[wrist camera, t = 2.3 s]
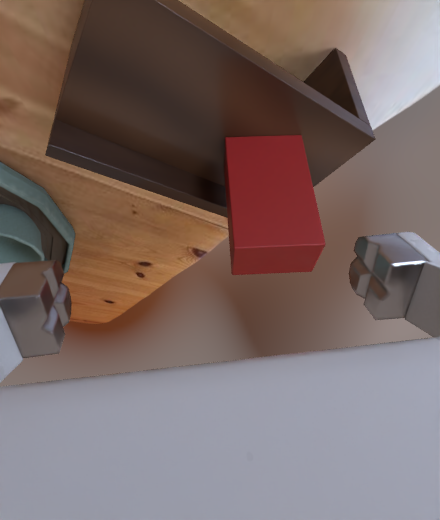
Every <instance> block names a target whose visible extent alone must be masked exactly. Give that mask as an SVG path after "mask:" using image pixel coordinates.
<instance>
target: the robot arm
mask: <svg viewBox="0 0 440 520" xmlns="http://www.w3.org/2000/svg"><path fill="white" fill-rule="evenodd" d="M354 252H355V253H356V255H357V257H356V258H355V259H354V260H353V261H352V263H351V264H350V270H349V279H350V284H351V286H352V289H353V290H354V291H355V293H356V294H357V295H359V296H361V297H363V298H365V302H364V305H365V307H366V308H367V309H368V311H369V312H370V314H371V315H372V316H373V318H374V319H375V320H383V319H395V318H405V320H407V321H409V322H410V323H412V324H414V325H415V326H417V327H418V328H420V329H421V330H423V331H424V332H426V333H428V334H429V335H431V336H432V337H433V338H424V339H415V340H406V341H399V342H389V343H380V344H371V345H363V346H354V347H346V348H336V349H328V350H319V351H310V352H302V353H293V354H284V355H276V356H266V357H257V358H248V359H240V360H232V361H222V362H213V363H204V364H195V365H187V366H179V367H170V368H161V369H151V370H143V371H134V372H125V373H116V374H108V375H99V376H90V377H81V378H72V379H63V380H55V381H46V382H37V383H28V384H19V385H11V386H3V387H0V520H440V253H439V252H438V251H437V250H435V249H434V248H433V247H432V246H431V245H429V244H428V243H427V242H425V241H424V240H423V239H422V238H420V237H419V236H418V235H417V234H415V233H414V232H401V233H392V234H382V235H372V236H363V237H359V238H358V239H357V241H356V243H355V247H354ZM63 276H64V272H63V269H62V266H61V263H60V262H59V261H58V260H46V261H29V262H17V263H16V262H11V263H0V382H1V381H2V380H3V379H4V378H5V377H6V376H7V375H8V374H9V373H10V372H11V371H12V370H13V369H14V368H16V367H17V365H19V364H20V363H21V362H22V361H23V358H29V357H36V356H44V355H52V354H59V352H60V349H61V346H62V342H63V339H64V336H65V333H64V329H63V327H64V326H65V325H66V324H67V323H68V322H69V320H70V316H71V296H70V292H69V289H68V287H67V286H65V285H64V284H63V283H62V282H61V281H62V279H63Z"/></svg>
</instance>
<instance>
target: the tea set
mask: <svg viewBox="0 0 440 520" xmlns="http://www.w3.org/2000/svg"><path fill="white" fill-rule="evenodd" d="M74 239H75V232H74V229H73V227H72V226H71V224H70V223H69V222H68V220H67V219H66V218H65V216H64V215H63V214H62V212H61V211H60V210H59V208H58V207H57V205H56V204H55V203H54V201H53V200H52V199H51V197H50V196H49V195H48V193H47V192H46V191H45V189H44V188H42V187H41V186H39V185H37V184H36V183H34V182H32V181H31V180H29V179H28V178H26V177H24V176H23V175H21V174H19V173H18V172H16V171H14V170H13V169H11V168H9V167H8V166H6V165H5V164H3V163H1V162H0V263H11V262H16V263H17V262H29V261H46V260H58V261H59V262H60V263H61V266H62V269H63V272H64V273H66V272H68V270H69V265H70V260H71V255H72V250H73V245H74Z"/></svg>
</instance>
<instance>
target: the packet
mask: <svg viewBox="0 0 440 520" xmlns="http://www.w3.org/2000/svg"><path fill="white" fill-rule="evenodd" d="M224 176H225V189H226V203H227V216H228V230H229V244H230V256H231V269H232V275H240V274H241V275H243V274H267V273H290V272H311V271H312V270H313V268H314V266H315V264H316V262H317V260H318V258H319V256H320V254H321V252H322V250H323V248H324V247H325V240H324V235H323V230H322V226H321V221H320V217H319V212H318V208H317V203H316V199H315V194H314V190H313V185H312V180H311V176H310V171H309V167H308V162H307V157H306V153H305V148H304V144H303V139H302V135H281V136H250V137H226V138H225V162H224Z"/></svg>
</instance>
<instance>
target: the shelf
mask: <svg viewBox="0 0 440 520" xmlns="http://www.w3.org/2000/svg"><path fill="white" fill-rule="evenodd" d="M281 135H302V139H303V144H304V148H305V153H306V157H307V162H308V167H309V171H310V176H311V180H312V185H313V187H314V186H315V185H317V184H318V183H319V182H321V181H322V180H323V179H324V178H326V177H327V176H328V175H330V174H331V173H332V172H334V171H335V170H336V169H338V168H339V167H340V166H341V165H343V164H344V163H345V162H346V161H348V160H349V159H350V158H352V157H353V156H354V155H356V154H357V153H358V152H360V151H361V150H362V149H364V148H365V147H366V146H367V145H369V144H370V143H371V142H373V141H374V140H375V137H374V134H373V131H372V128H371V126H370V123H369V120H368V117H367V114H366V112H365V109H364V106H363V103H362V100H361V97H360V95H359V92H358V89H357V86H356V83H355V80H354V77H353V75H352V72H351V69H350V66H349V63H348V60H347V57H346V55H344V54H343V53H342V52H340V51H339V50H338V49H337V48H335V49H334V50H333V51H332V52H331V53H330V54H329V56H328V57H327V58H326V59H325V60H324V61H323V62H322V63H321V64H320V65H319V66H318V67H317V69H316V70H315V71H314V72H313V73H312V74H311V75H310V76H309V77H308V78H307V79H306V80H305V82H302V81H301V80H299V79H298V78H296V77H295V76H293V75H291V74H290V73H288V72H287V71H285V70H284V69H282V68H281V67H279V66H278V65H276V64H275V63H273V62H272V61H270V60H268V59H267V58H265V57H264V56H262V55H261V54H259V53H258V52H256V51H255V50H253V49H252V48H250V47H249V46H247V45H246V44H244V43H242V42H241V41H239V40H238V39H236V38H235V37H233V36H232V35H230V34H229V33H227V32H226V31H224V30H223V29H221V28H220V27H218V26H216V25H215V24H213V23H212V22H210V21H209V20H207V19H206V18H204V17H203V16H201V15H200V14H198V13H197V12H195V11H193V10H192V9H190V8H189V7H187V6H186V5H184V4H183V3H181V2H180V1H178V0H85V1H84V4H83V7H82V11H81V14H80V17H79V21H78V24H77V27H76V31H75V34H74V38H73V41H72V45H71V49H70V53H69V58H68V62H67V66H66V70H65V74H64V78H63V83H62V87H61V91H60V95H59V99H58V104H57V108H56V112H55V116H54V120H53V125H52V129H51V133H50V137H49V141H48V146H47V150H46V154H45V155H46V156H49V157H52V158H54V159H57V160H60V161H63V162H66V163H69V164H72V165H75V166H78V167H81V168H84V169H87V170H90V171H92V172H95V173H98V174H101V175H104V176H107V177H110V178H113V179H116V180H119V181H122V182H125V183H128V184H130V185H133V186H136V187H139V188H142V189H145V190H148V191H151V192H154V193H157V194H160V195H163V196H166V197H168V198H171V199H174V200H177V201H180V202H183V203H186V204H189V205H192V206H195V207H198V208H201V209H204V210H206V211H209V212H212V213H215V214H218V215H221V216H224V217H227V218H228V216H227V203H226V189H225V176H224V162H225V138H226V137H250V136H281Z"/></svg>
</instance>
